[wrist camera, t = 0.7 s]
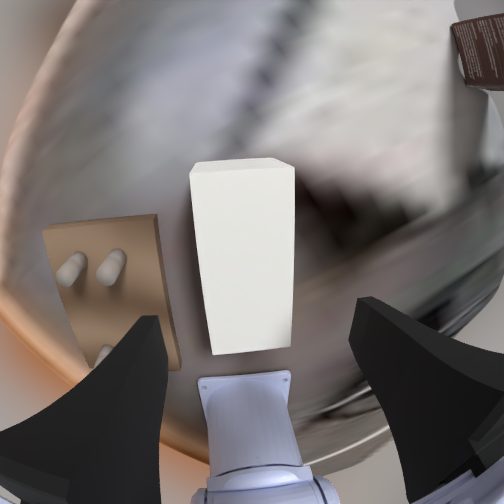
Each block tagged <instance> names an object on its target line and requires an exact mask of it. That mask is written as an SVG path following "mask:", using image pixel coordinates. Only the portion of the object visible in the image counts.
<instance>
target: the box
mask: <svg viewBox="0 0 504 504" xmlns="http://www.w3.org/2000/svg"><path fill="white" fill-rule="evenodd" d="M452 28H453V31H454V34H455V37H456V41H457V45H458V48H459V52H460V56H461V60H462V65H463V69H464V74H465V80H466V85H467V86H470V87H475V88H481V89H486V90H490V91H504V13H502V14H495V15H490V16H484V17H479V18H475V19H470V20H465V21H461V22H457V23H453V24H452Z"/></svg>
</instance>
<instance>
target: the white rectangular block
mask: <svg viewBox="0 0 504 504" xmlns="http://www.w3.org/2000/svg"><path fill="white" fill-rule="evenodd" d="M190 186H191V197H192V207H193V216H194V226H195V235H196V243H197V252H198V260H199V267H200V275H201V282H202V290H203V297H204V303H205V310H206V317H207V323H208V329H209V335H210V341H211V347H212V353H213V355H220V354H231V353H241V352H250V351H259V350H267V349H274V348H282V347H289V346H290V343H291V324H292V301H293V271H294V213H295V178H294V167H292V166H290V165H288V164H286V163H283V162H281V161H279V160H277V159H274V158H254V159H236V160H221V161H209V162H198V163H196V164H195V165H194V167H193V169H192V170H191V172H190Z"/></svg>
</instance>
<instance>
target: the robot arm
mask: <svg viewBox="0 0 504 504" xmlns="http://www.w3.org/2000/svg"><path fill="white" fill-rule="evenodd" d="M348 340H349V343H350V346H351V349H352V351H353V354H354V356H355V359H356V361H357V363H358V365H359V367H360V369H361V371H362V372H363V374H364V376H365V378H366V380H367V381H368V383H369V385H370V387H371V389H372V390H373V392H374V394H375V396H376V398H377V399H378V401H379V403H380V405H381V407H382V409H383V411H384V413H385V416H386V419H387V421H388V424H389V427H390V429H391V432H392V435H393V438H394V441H395V444H396V448H397V451H398V455H399V458H400V463H401V467H402V471H403V476H404V482H405V488H406V495H407V499H408V502H409V504H504V354H502V353H497V352H492V351H488V350H484V349H481V348H478V347H474V346H471V345H468V344H465V343H462V342H460V341H458V340H455V339H453V338H450V337H448V336H446V335H443V334H441V333H439V332H437V331H435V330H433V329H431V328H429V327H427V326H425V325H423V324H421V323H420V322H418V321H416V320H414V319H412V318H411V317H409V316H407V315H405V314H403V313H402V312H400V311H398V310H396V309H395V308H393V307H391V306H389V305H388V304H386V303H384V302H382V301H380V300H378V299H376V298H374V297H372V296H370V297H363V298H357V303H356V308H355V313H354V318H353V322H352V327H351V331H350V335H349V339H348ZM290 379H291V374H290V372H289V371H288V370H283V371H275V372H266V373H257V374H246V375H235V376H221V377H203V378H199V379H198V388H199V393H200V397H201V401H202V406H203V410H204V414H205V418H206V422H207V426H208V444H209V462H210V477H208V478H207V488H200V489H198V490H197V492H196V493H195V494H194V495H193V496H192V499H191V504H341V503H340V499H339V497H338V494H337V492H336V490H335V488H334V486H333V485H332V483H331V482H330V481H329V480H327V479H326V478H324V477H323V476H321V475H312V472H311V469H310V466H303V463H302V460H301V456H300V453H299V449H298V445H297V442H296V438H295V435H294V431H293V428H292V424H291V420H290V417H289V413H288V410H287V402H288V395H289V387H290ZM167 382H168V354H167V350H166V347H165V343H164V338H163V334H162V330H161V326H160V322H159V317H158V315H142V316H141V317H140V318H139V319H138V320H137V321H136V322H135V323H134V325H133V326H132V327H131V328H130V329H129V331H128V332H127V333H126V334H125V335H124V337H123V338H122V339H121V340H120V341H119V342H118V344H117V345H116V346H115V347H114V348H113V349H112V350H111V352H110V353H109V354H108V355H107V356H106V357H105V358H104V359H103V360H102V361H101V362H100V363H99V364H98V365H97V366H96V367H95V369H94V370H93V371H91V372H90V373H89V374H88V375H87V376H86V377H85V378H84V379H83V380H82V381H81V382H79V383H78V384H77V385H76V386H75V387H74V388H72V389H71V390H70V391H69V392H67V393H66V394H65V395H63V396H62V397H61V398H59V399H58V400H56V401H55V402H54V403H52V404H51V405H50V406H48V407H47V408H45V409H43V410H42V411H40V412H38V413H37V414H35V415H33V416H32V417H30V418H28V419H26V420H25V421H23V422H21V423H19V424H16V425H14V426H12V427H10V428H8V429H5V430H3V431H1V432H0V485H1V486H2V487H3V488H5V489H6V490H8V491H9V492H10V493H12V494H13V495H15V496H16V497H18V498H20V499H21V503H20V504H161V494H160V478H159V437H160V428H161V421H162V414H163V408H164V401H165V395H166V389H167ZM0 504H15V503H13V502H11V501H9V500H7V499H6V498H4V497H2V496H0Z"/></svg>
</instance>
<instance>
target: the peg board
mask: <svg viewBox="0 0 504 504" xmlns="http://www.w3.org/2000/svg"><path fill="white" fill-rule="evenodd" d="M42 233H43V237H44V242H45V246H46V250H47V254H48V257H49V261H50V265H51V268H52V272H53V275H54V278H55V282H56V285H57V288H58V291H59V294H60V297H61V300H62V303H63V306H64V308H65V311H66V314H67V316H68V319H69V322H70V324H71V327H72V329H73V332H74V334H75V337H76V339H77V341H78V344H79V346H80V348H81V350H82V353H83V355H84V357H85V359H86V361H87V363H88V366H89V368H93V370H94V369H95V367H96V366H97V365H98V364H99V363H100V362H101V361H102V360H103V359H104V358H105V357H106V356H107V355H108V354H109V353H110V352H111V350H112V349H113V348H114V347H115V346H116V345H117V344H118V342H119V341H120V340H121V339H122V338H123V337H124V335H125V334H126V333H127V332H128V331H129V329H130V328H131V327H132V326H133V325H134V323H135V322H136V321H137V320H138V319H139V318H140V317H141V316H142V315H158V317H159V322H160V326H161V330H162V334H163V338H164V343H165V347H166V350H167V354H168V371H174V370H181V355H180V351H179V346H178V342H177V337H176V332H175V327H174V322H173V317H172V312H171V307H170V301H169V296H168V290H167V284H166V278H165V271H164V265H163V258H162V251H161V244H160V236H159V228H158V219H157V214H149V215H137V216H126V217H116V218H106V219H96V220H87V221H78V222H70V223H62V224H54V225H49V226H48V227H47V228H45V229H44V230H42Z"/></svg>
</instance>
